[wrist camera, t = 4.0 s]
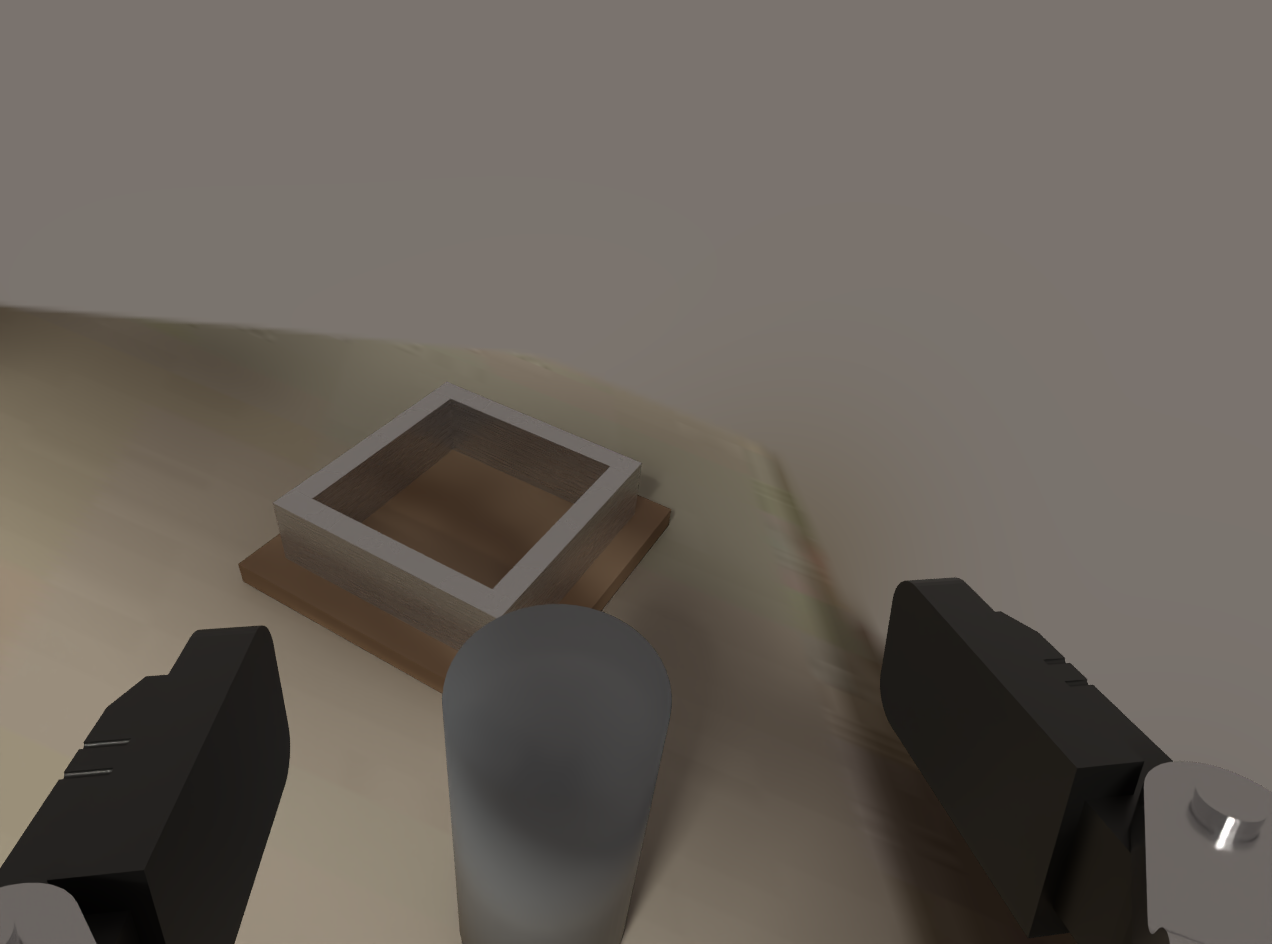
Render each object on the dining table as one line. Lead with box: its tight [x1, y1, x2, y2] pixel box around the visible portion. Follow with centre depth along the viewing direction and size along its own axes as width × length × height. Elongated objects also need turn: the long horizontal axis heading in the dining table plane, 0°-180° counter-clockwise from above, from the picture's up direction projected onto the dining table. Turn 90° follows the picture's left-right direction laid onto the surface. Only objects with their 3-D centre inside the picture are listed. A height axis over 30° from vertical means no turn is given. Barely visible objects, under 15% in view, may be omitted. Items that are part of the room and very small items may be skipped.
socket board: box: [238, 450, 671, 694], centre depth 36 cm, size 13×13×1 cm
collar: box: [273, 382, 642, 651], centre depth 35 cm, size 10×10×3 cm
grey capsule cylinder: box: [442, 604, 672, 944], centre depth 22 cm, size 5×5×11 cm
